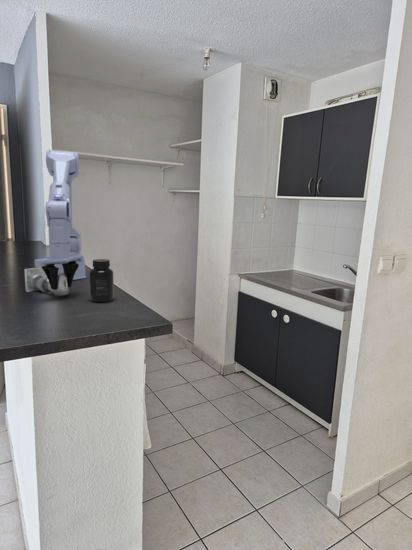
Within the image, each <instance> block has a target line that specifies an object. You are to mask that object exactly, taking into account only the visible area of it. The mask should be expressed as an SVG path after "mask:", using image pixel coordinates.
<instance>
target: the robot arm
mask: <svg viewBox="0 0 412 550" xmlns="http://www.w3.org/2000/svg"><path fill="white" fill-rule="evenodd" d="M79 156H80V155H79V153H78V151H64V150H52V149H51V150H50V149H47V150H46V151H45V164H46V165H45V167H46V169H47V171H48V174H49V176H50V177H53V179H54V180H53V182H51V184H50V185H49V190H48V191H49V194H48V201H46V202H45V206H44V207H45V210H44V211H45V218H46V222H47V227H48V248H49V252H48V253H49V256H47V257H43V258H37V259H34V267H35V268H38V267H42V269H43V270H44V272H45V274H46V276H47V278H48V280H49V283H50V286H51V289H53V290H57V275H58V273H67V279H68V288H72V283H73V281H76V280H81V279H82V280H83V279H86V278H87V276H86V259H85V257H84V255H83V254H82V253H81V252H82V238H81V232H80V231H79V229H77V227H74V226H73V207H72V205H73V202H72V184H73V180H74V179H76V178H78V177H79V174H80V173H79V172H80V171H79V169H80V158H79Z"/></svg>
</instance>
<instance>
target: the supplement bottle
mask: <svg viewBox="0 0 412 550" xmlns="http://www.w3.org/2000/svg"><path fill="white" fill-rule="evenodd" d="M92 267H93V268H92V269H90V270H89V275H88V276H89V298H90V301H91V302H93V303H108V302H111V301H113V300H114V297H115V294H114V293H115V292H114V291H115V289H114V285H115V283H114V282H115V281H114V271H113V269H112V268H110V267H111V263H110V259H108V258H107V259H105V258H96V259H93V260H92Z"/></svg>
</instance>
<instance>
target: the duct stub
mask: <svg viewBox="0 0 412 550" xmlns="http://www.w3.org/2000/svg"><path fill="white" fill-rule="evenodd" d="M47 279H48V278H47V276H46V274H45V272H44V270H43V269H42V267H31V268H24V283H25V284H24V285H25V292H27V293H31V292H35V291H41V292H42V293H44V294H50V293H52V291H48V290H47V289H46V288H45V282H46V280H47Z"/></svg>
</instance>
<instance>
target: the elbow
mask: <svg viewBox="0 0 412 550" xmlns="http://www.w3.org/2000/svg"><path fill="white" fill-rule="evenodd" d="M45 288H46V289H47V290H48V291H52V292H53V294H54V296H65V295H69V293H70V292H69V287H68V279H67V273H58V275H57V290H53V289H51V286H50V283H49V280H48V279H47V280H46V282H45ZM52 292H51V293H52Z"/></svg>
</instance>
